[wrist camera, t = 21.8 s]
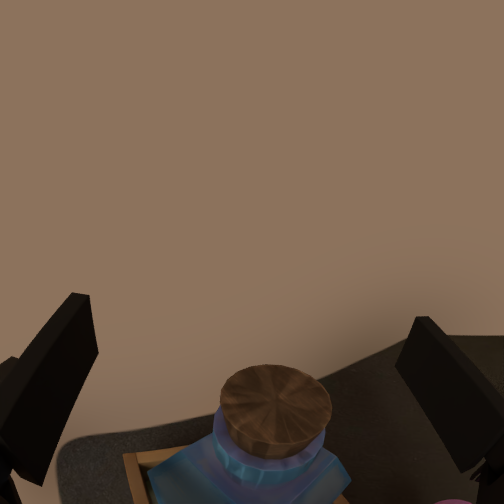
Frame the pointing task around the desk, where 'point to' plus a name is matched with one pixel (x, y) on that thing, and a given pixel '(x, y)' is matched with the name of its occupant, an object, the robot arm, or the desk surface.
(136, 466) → the holder
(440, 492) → the desk surface
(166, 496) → the blue bottle with cork
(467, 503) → the bracket
